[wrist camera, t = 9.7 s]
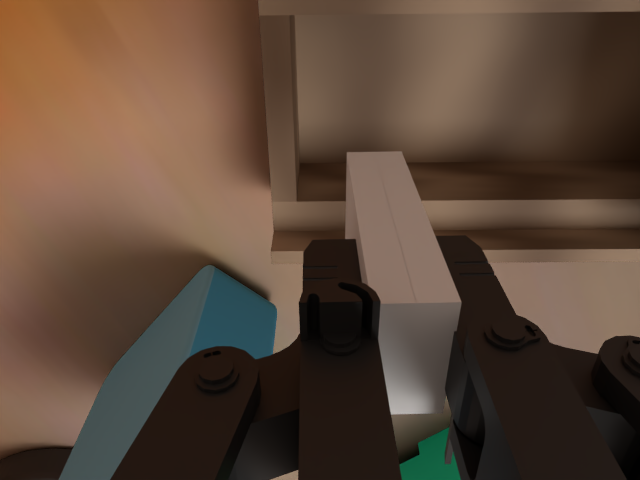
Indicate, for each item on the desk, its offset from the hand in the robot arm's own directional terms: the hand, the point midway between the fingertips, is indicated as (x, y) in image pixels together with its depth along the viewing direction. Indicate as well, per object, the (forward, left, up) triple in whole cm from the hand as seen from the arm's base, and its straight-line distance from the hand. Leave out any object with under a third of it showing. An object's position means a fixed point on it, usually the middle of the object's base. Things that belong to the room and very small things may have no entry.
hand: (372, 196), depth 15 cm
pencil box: (+7, 0, -10) cm, 12 cm away
